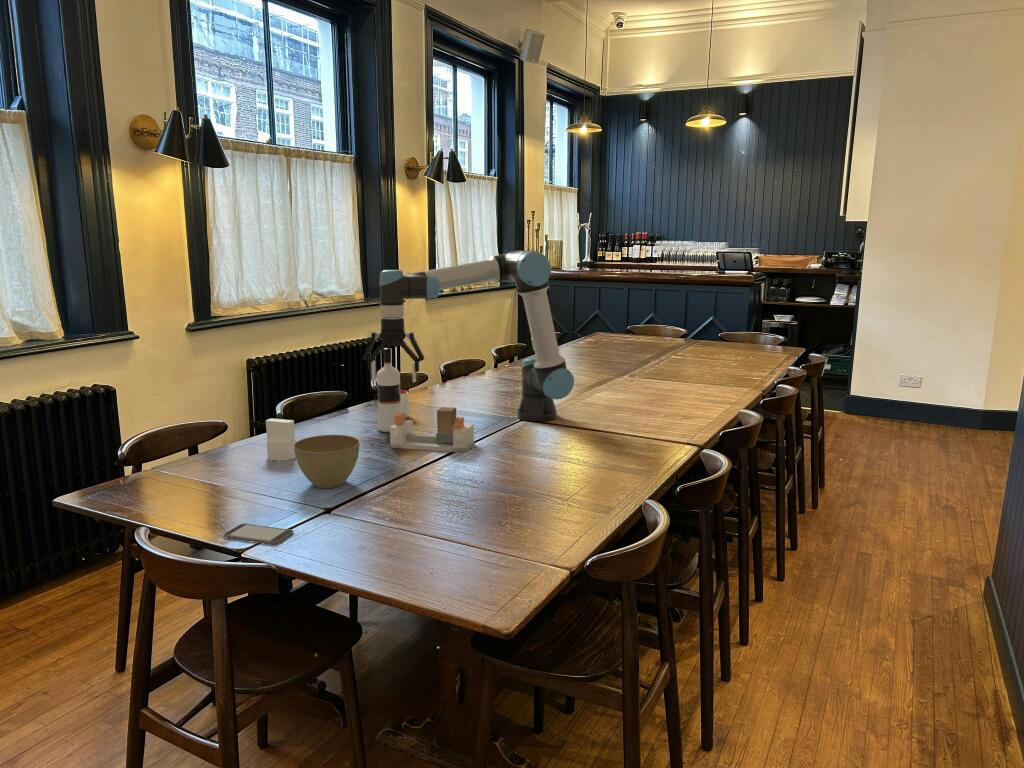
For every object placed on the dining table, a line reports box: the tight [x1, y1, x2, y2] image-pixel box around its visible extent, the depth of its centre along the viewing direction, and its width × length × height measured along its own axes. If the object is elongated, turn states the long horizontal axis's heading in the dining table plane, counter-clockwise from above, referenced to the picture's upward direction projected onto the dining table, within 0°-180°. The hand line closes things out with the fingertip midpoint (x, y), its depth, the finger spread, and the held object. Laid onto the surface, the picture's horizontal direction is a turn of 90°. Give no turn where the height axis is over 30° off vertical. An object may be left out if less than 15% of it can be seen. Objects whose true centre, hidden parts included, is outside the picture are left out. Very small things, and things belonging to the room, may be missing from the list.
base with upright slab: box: [265, 418, 297, 462], centre depth 234 cm, size 9×9×12 cm
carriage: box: [435, 406, 457, 443], centre depth 243 cm, size 6×5×11 cm
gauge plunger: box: [394, 413, 406, 425], centre depth 247 cm, size 2×4×3 cm, turn 166°
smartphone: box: [223, 523, 294, 546], centre depth 174 cm, size 7×1×15 cm
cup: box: [400, 389, 410, 419], centre depth 283 cm, size 10×10×10 cm
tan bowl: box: [294, 434, 361, 489], centre depth 208 cm, size 18×18×12 cm
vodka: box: [376, 347, 401, 434], centre depth 263 cm, size 9×9×30 cm
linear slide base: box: [389, 416, 475, 453], centre depth 245 cm, size 26×10×10 cm, turn 76°
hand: (394, 381), depth 244 cm, fingers open, 13 cm apart
